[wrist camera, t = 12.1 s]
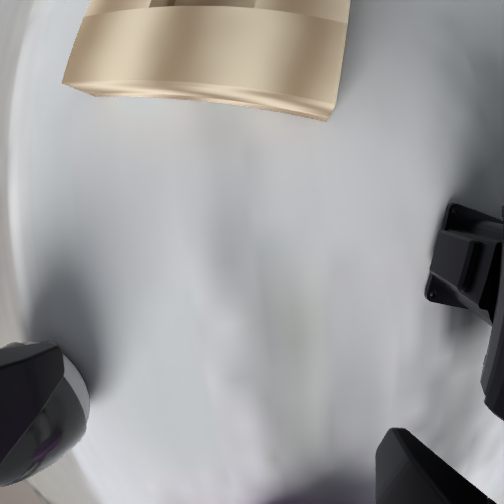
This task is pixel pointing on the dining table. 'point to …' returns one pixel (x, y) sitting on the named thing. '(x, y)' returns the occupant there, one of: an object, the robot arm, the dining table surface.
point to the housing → (214, 52)
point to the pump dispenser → (49, 428)
